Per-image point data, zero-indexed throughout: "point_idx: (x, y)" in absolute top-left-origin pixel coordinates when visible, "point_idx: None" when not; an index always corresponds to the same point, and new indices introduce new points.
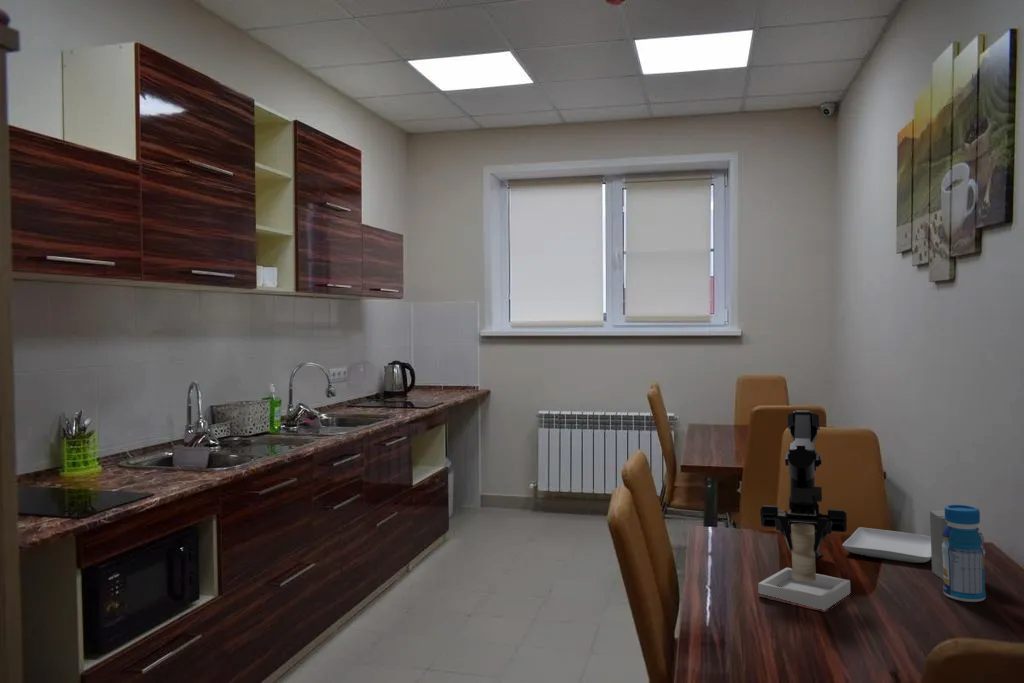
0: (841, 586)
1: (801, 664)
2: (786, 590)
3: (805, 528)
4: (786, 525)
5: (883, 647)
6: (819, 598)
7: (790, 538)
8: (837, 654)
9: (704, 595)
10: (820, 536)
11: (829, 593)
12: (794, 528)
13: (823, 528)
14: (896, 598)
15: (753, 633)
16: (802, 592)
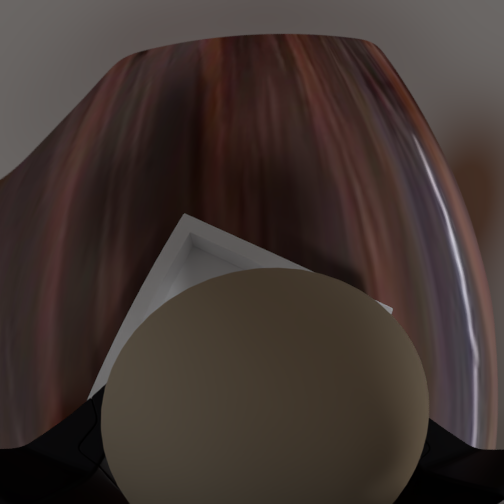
0: (110, 349)
1: (257, 46)
2: (303, 268)
3: (240, 280)
4: (444, 463)
5: (120, 102)
6: (198, 220)
7: None
8: (202, 69)
9: (469, 287)
10: (92, 400)
11: (159, 263)
12: (383, 316)
13: (31, 447)
14: (8, 383)
15: (339, 109)
16: (250, 252)
